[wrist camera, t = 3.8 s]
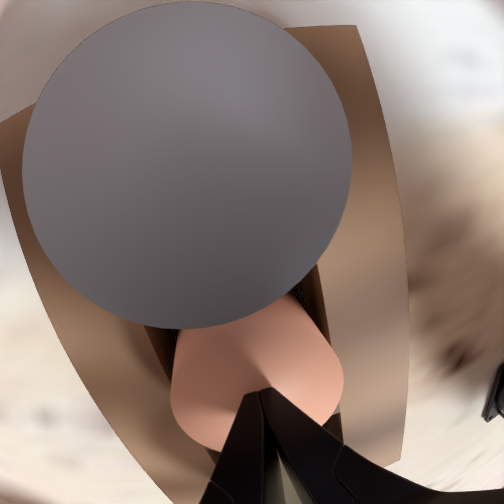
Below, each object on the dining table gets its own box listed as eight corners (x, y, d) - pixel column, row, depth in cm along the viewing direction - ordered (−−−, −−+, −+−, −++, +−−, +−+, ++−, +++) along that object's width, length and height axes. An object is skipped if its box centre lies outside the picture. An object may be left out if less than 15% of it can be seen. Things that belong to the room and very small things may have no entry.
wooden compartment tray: (378, 427, 16) (400, 459, 13) (189, 481, 15) (189, 520, 12) (324, 52, 11) (355, 25, 8) (34, 133, 10) (-7, 127, 7)
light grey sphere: (296, 226, 10) (374, 277, 5) (136, 271, 9) (86, 357, 5) (256, 66, 8) (302, -18, 4) (92, 112, 8) (3, 72, 3)
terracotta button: (308, 355, 14) (348, 427, 9) (201, 386, 13) (204, 467, 9) (287, 252, 12) (333, 299, 8) (162, 287, 12) (141, 353, 7)
